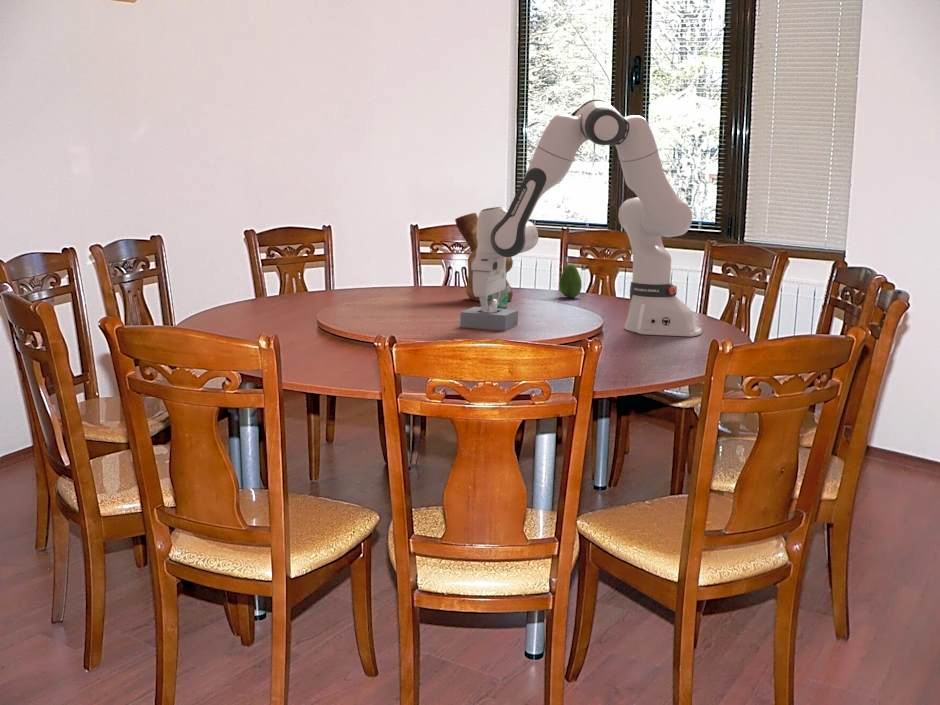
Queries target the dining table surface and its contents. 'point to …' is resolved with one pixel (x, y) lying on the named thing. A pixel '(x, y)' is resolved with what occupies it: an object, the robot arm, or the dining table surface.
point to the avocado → (570, 282)
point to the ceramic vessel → (469, 232)
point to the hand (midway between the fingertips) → (489, 308)
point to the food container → (502, 298)
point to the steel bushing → (491, 305)
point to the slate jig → (489, 319)
